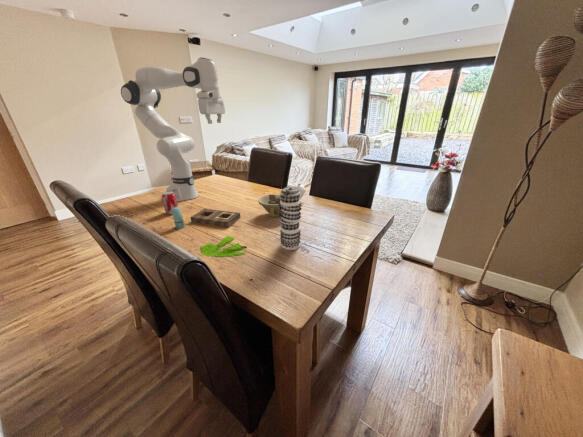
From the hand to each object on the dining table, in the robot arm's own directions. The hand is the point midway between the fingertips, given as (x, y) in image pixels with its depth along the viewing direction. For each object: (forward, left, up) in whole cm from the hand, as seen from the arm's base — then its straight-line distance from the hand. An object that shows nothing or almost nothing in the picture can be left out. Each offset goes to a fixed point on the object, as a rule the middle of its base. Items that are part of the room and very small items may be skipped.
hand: (214, 123), depth 128 cm
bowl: (+38, -10, -47) cm, 61 cm away
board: (+10, -25, -46) cm, 53 cm away
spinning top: (+45, +14, -46) cm, 66 cm away
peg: (-3, -37, -46) cm, 59 cm away
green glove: (+30, -47, -47) cm, 73 cm away
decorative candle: (+55, -38, -47) cm, 81 cm away
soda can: (-20, -23, -47) cm, 56 cm away
